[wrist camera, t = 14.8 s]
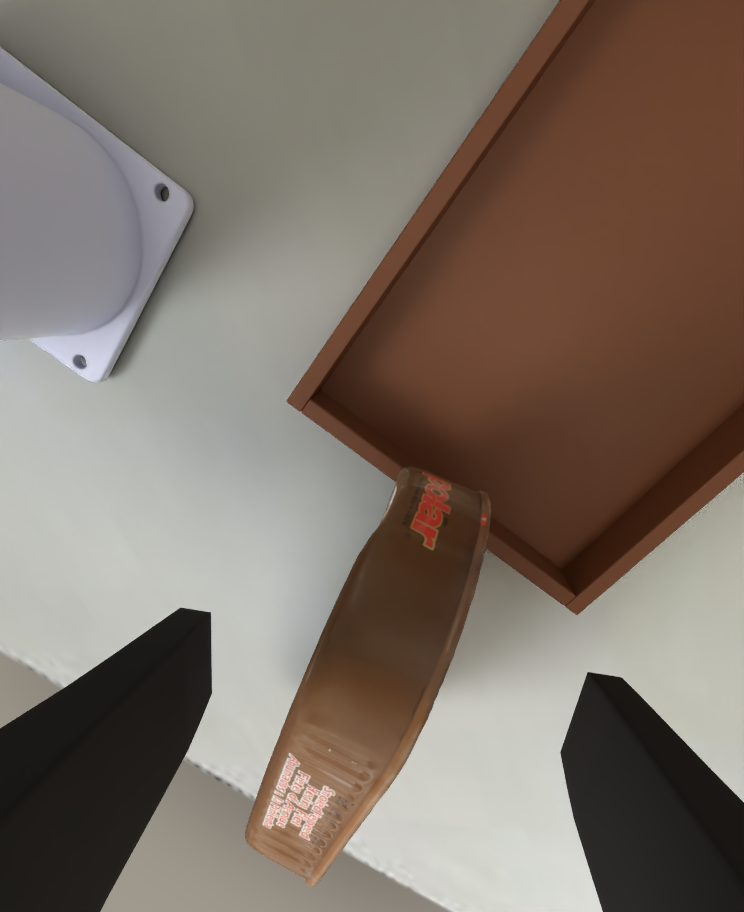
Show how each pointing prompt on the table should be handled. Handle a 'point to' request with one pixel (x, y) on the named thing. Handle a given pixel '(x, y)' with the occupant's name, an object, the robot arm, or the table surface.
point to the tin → (372, 673)
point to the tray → (569, 298)
